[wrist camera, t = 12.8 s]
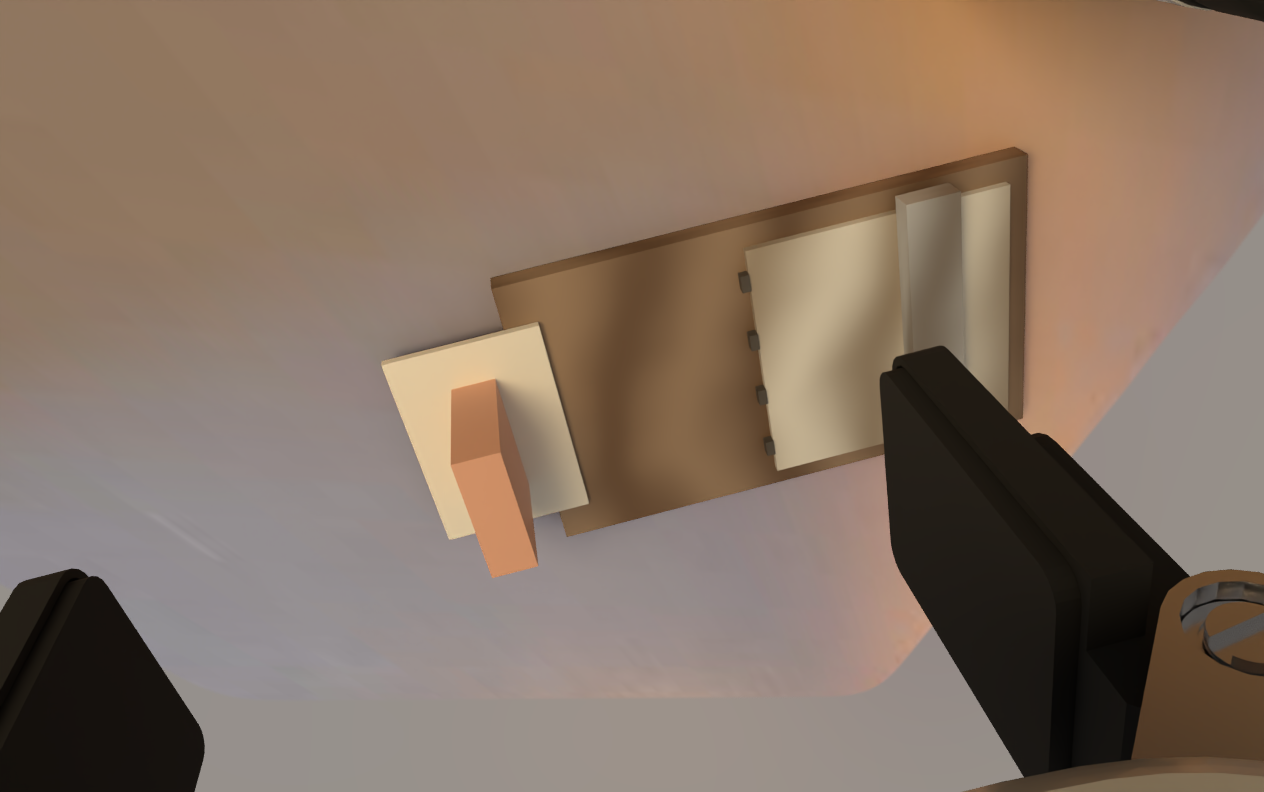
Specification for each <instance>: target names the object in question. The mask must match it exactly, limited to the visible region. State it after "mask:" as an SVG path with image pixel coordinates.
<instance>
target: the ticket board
mask: <svg viewBox="0 0 1264 792" xmlns="http://www.w3.org/2000/svg"><path fill="white" fill-rule="evenodd" d="M1027 178H1028V154H1026V153H1024V152H1023V151H1021V150H1019V149H1017V148H1015V147H1012V148H1008V149H1004V150H1000V151H996V152H992V153H988V154H984V155H980V156H976V157H972V158H968V159H964V160H960V161H956V162H952V163H948V164H944V165H940V166H936V167H932V168H928V169H924V170H920V171H916V172H912V173H908V174H904V175H900V176H896V177H892V178H888V179H884V180H880V181H876V182H872V183H868V184H864V185H860V186H856V187H852V188H848V189H844V190H840V191H836V192H832V193H828V194H824V195H820V196H816V197H812V198H808V199H804V200H800V201H796V202H792V203H788V204H784V205H780V206H776V207H772V208H768V209H764V210H760V211H757V212H753V213H749V214H745V215H741V216H737V217H733V218H729V219H725V220H721V221H717V222H713V223H709V224H705V225H701V226H697V227H693V228H689V229H685V230H681V231H677V232H673V233H669V234H665V235H661V236H657V237H653V238H649V239H645V240H641V241H637V242H633V243H629V244H625V245H621V246H617V247H613V248H609V249H605V250H601V251H597V252H593V253H589V254H585V255H581V256H577V257H573V258H569V259H565V260H561V261H557V262H553V263H549V264H545V265H541V266H537V267H533V268H529V269H525V270H521V271H517V272H513V273H509V274H505V275H501V276H497V277H493V278H491V290H492V293H493V296H494V300H495V303H496V306H497V309H498V313H499V316H500V319H501V322H502V326H503V329H504V330H507V329H511V328H515V327H519V326H523V325H527V324H531V323H535V322H538V323H539V327H540V330H541V334H542V337H543V341H544V344H545V348H546V351H547V355H548V359H549V362H550V366H551V369H552V373H553V376H554V380H555V383H556V387H557V390H558V394H559V397H560V401H561V405H562V408H563V412H564V415H565V419H566V422H567V426H568V429H569V433H570V436H571V440H572V443H573V447H574V451H575V454H576V458H577V461H578V465H579V468H580V472H581V475H582V479H583V482H584V486H585V490H586V493H587V497H588V501H589V504H586V505H582V506H578V507H575V508H571V509H567V510H563V511H559V512H560V516H561V519H562V522H563V525H564V529H565V532H566V535H567V537H569V536H572V535H576V534H580V533H584V532H588V531H592V530H595V529H599V528H603V527H607V526H611V525H615V524H618V523H622V522H626V521H630V520H634V519H638V518H641V517H645V516H649V515H653V514H657V513H661V512H664V511H668V510H672V509H676V508H680V507H684V506H688V505H691V504H695V503H699V502H703V501H707V500H711V499H714V498H718V497H722V496H726V495H730V494H734V493H737V492H741V491H745V490H749V489H753V488H757V487H760V486H764V485H768V484H772V483H776V482H780V481H783V480H787V479H791V478H795V477H799V476H803V475H807V474H810V473H814V472H818V471H822V470H826V469H830V468H833V467H837V466H841V465H845V464H849V463H853V462H856V461H860V460H864V459H868V458H872V457H876V456H879V455H883V454H884V440H883V426H882V413H881V399H880V375H881V374H882V373H883V372H887V371H891V370H892V364H893V360H894V359H895V357H897V356H900V355H904V354H908V353H912V352H916V351H920V350H924V349H928V348H932V347H935V346H945V347H946V348H947V349H949V351H950V352H951V353H952V354H953V355H954V356H955V357H956V358H957V359H958V360H959V361H960V362H961V363H962V364H963V365H964V366H965V367H966V368H967V369H968V370H969V371H970V372H971V373H972V374H973V375H974V376H975V378H976V379H977V380H978V381H979V382H980V383H981V384H982V385H983V386H984V387H985V388H986V389H987V390H988V391H989V392H990V393H991V394H992V395H993V396H994V397H995V398H996V399H997V400H998V401H999V402H1000V403H1001V404H1002V406H1003V407H1004V408H1005V409H1006V410H1007V411H1008V412H1009V413H1010V414H1011V415H1012V416H1013V417H1014V418H1015V419H1016V420H1018V419H1021V418H1023V377H1024V327H1025V278H1026V228H1027Z"/></svg>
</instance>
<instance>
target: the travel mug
mask: <svg viewBox="0 0 1264 792" xmlns="http://www.w3.org/2000/svg"><path fill="white" fill-rule="evenodd" d="M1158 1H1162V2H1168V3H1173V4H1176V5H1180V6H1184V7H1190V8H1195V9H1201V10H1215V11H1218V12H1222V13H1227V14H1231V15H1236V16H1241V17H1245V18H1250V19H1254V20H1259V21H1263V22H1264V0H1158Z"/></svg>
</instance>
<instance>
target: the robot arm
mask: <svg viewBox="0 0 1264 792" xmlns="http://www.w3.org/2000/svg"><path fill="white" fill-rule="evenodd" d="M880 399H881V413H882V426H883V440H884V454H885V468H886V481H887V495H888V509H889V522H890V536H891V546H892V551H893V555H894V558H895V561H896V564H897V566H898V569H899V571H900V573H901V575H902V576H903V578H904V579H905V581H906V583H907V584H908V586H909V588H910V589H911V591H912V593H913V594H914V596H915V598H916V599H917V601H918V603H919V604H920V606H921V608H922V609H923V611H924V613H925V614H926V616H927V618H928V619H929V621H930V622H931V624H932V626H933V627H934V629H935V631H936V632H937V634H938V636H939V637H940V639H941V641H942V642H943V644H944V646H945V647H946V649H947V650H948V652H949V654H950V655H951V657H952V659H953V660H954V662H955V664H956V665H957V667H958V669H959V670H960V672H961V674H962V675H963V677H964V679H965V680H966V682H967V684H968V685H969V687H970V688H971V690H972V692H973V694H974V695H975V697H976V699H977V700H978V702H979V703H980V705H981V707H982V708H983V710H984V712H985V713H986V715H987V717H988V718H989V720H990V722H991V723H992V725H993V727H994V728H995V730H996V732H997V733H998V735H999V737H1000V738H1001V740H1002V741H1003V743H1004V745H1005V747H1006V748H1007V750H1008V751H1009V753H1010V755H1011V756H1012V758H1013V760H1014V761H1015V763H1016V765H1017V766H1018V768H1019V770H1020V771H1021V773H1022V775H1023V776H1024V778H1019V779H1014V780H1010V781H1004V782H1000V783H996V784H992V785H988V786H984V787H980V788H976V789H972V790H968V791H964V792H1264V574H1263V573H1260V572H1251V571H1242V570H1232V569H1230V570H1218V571H1207V572H1203V573H1200V574H1197V575H1194V576H1191V577H1190V576H1189V575H1188V574H1187V573H1186V572H1185V571H1184V570H1183V569H1182V568H1181V567H1180V566H1179V565H1178V564H1177V563H1176V562H1175V561H1174V560H1173V559H1172V558H1171V557H1170V556H1169V555H1168V554H1167V553H1166V552H1165V551H1164V550H1163V549H1162V548H1161V547H1160V546H1159V545H1158V544H1157V543H1156V542H1155V541H1154V540H1153V539H1152V538H1151V537H1150V536H1149V535H1148V534H1147V533H1146V532H1145V531H1144V530H1143V529H1142V528H1141V527H1140V526H1139V525H1138V524H1137V523H1136V522H1135V521H1134V520H1133V519H1132V518H1131V517H1130V516H1129V515H1128V514H1127V513H1126V512H1125V511H1124V510H1123V509H1122V508H1121V507H1120V506H1119V505H1118V504H1117V503H1116V502H1115V501H1114V500H1113V499H1112V498H1111V497H1110V496H1109V495H1108V494H1107V493H1106V492H1105V491H1104V490H1103V489H1102V488H1101V487H1100V486H1099V484H1097V483H1096V481H1094V480H1093V478H1092V477H1090V475H1089V474H1088V473H1087V472H1086V471H1084V469H1083V468H1082V467H1081V466H1079V464H1077V462H1076V461H1075V460H1074V459H1073V458H1072V457H1071V456H1070V455H1069V454H1068V453H1067V452H1066V451H1065V450H1064V449H1063V448H1062V447H1061V446H1060V445H1059V444H1058V443H1057V442H1056V441H1054V440H1053V439H1052V438H1050V437H1049V436H1048V435H1046V434H1041V433H1036V434H1032V435H1030V434H1029V433H1028V431H1027V430H1026V429H1025V428H1024V427H1023V426H1022V425H1021V424H1020V423H1019V422H1018V421H1017V420H1016V419H1015V418H1014V417H1013V416H1012V415H1011V414H1010V413H1009V412H1008V411H1007V410H1006V409H1005V408H1004V407H1003V406H1002V404H1001V403H1000V402H999V401H998V400H997V399H996V398H995V397H994V396H993V395H992V394H991V393H990V392H989V391H988V390H987V389H986V388H985V387H984V386H983V385H982V384H981V383H980V382H979V381H978V380H977V379H976V378H975V376H974V375H973V374H972V373H971V372H970V371H969V370H968V369H967V368H966V367H965V366H964V365H963V364H962V363H961V362H960V361H959V360H958V359H957V358H956V357H955V356H954V355H953V354H952V353H951V352H950V351H949V349H947V348H946V347H945V346H935V347H932V348H928V349H924V350H920V351H916V352H912V353H908V354H904V355H900V356H897V357H895V359H894V360H893V364H892V370H891V371H887V372H883V373H882V374H881V375H880ZM204 747H205V745H204V738H203V734H202V731H201V728H200V726H199V724H198V723H197V721H196V720H195V718H194V717H193V715H192V714H191V712H190V711H189V709H188V708H187V706H186V705H185V703H184V702H183V700H182V699H181V697H180V696H179V694H178V693H177V691H176V689H175V688H174V686H173V685H172V683H171V682H170V680H169V679H168V677H167V676H166V674H165V673H164V671H163V670H162V668H161V667H160V665H159V664H158V662H157V661H156V659H155V657H154V656H153V654H152V653H151V651H150V650H149V648H148V647H147V645H146V644H145V642H144V641H143V639H142V638H141V636H140V635H139V633H138V632H137V630H136V629H135V627H134V626H133V624H132V623H131V621H130V620H129V618H128V616H127V615H126V613H125V612H124V610H123V609H122V607H121V606H120V604H119V603H118V601H117V600H116V598H115V597H114V595H113V594H112V592H111V591H110V589H109V588H108V586H107V585H106V584H105V582H104V581H103V580H102V579H100V578H99V577H96V576H91V577H88V576H87V575H86V574H85V573H84V572H82V571H81V570H79V569H68V570H64V571H60V572H57V573H53V574H49V575H45V576H41V577H37V578H33V579H29V580H26V581H23V582H21V583H19V584H18V585H17V587H16V588H15V589H14V590H13V592H12V594H11V595H10V597H9V599H8V600H7V602H6V604H5V606H4V607H3V609H2V610H1V612H0V792H194V791H195V788H196V784H197V780H198V777H199V773H200V770H201V766H202V762H203V758H204Z"/></svg>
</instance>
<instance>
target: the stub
mask: <svg viewBox="0 0 1264 792" xmlns="http://www.w3.org/2000/svg"><path fill="white" fill-rule="evenodd" d="M381 366H382V368H383V371H384V374H385V376H386V379H387V381H388V384H389V386H390V389H391V391H392V394H393V397H394V399H395V402H396V404H397V407H398V409H399V412H400V415H401V417H402V420H403V422H404V425H405V427H406V430H407V432H408V435H409V438H410V440H411V443H412V445H413V448H414V450H415V453H416V456H417V458H418V461H419V463H420V466H421V468H422V471H423V473H424V476H425V479H426V481H427V484H428V486H429V489H430V491H431V494H432V496H433V499H434V502H435V504H436V507H437V509H438V512H439V514H440V517H441V520H442V522H443V525H444V527H445V530H446V532H447V535H448V537H449V540H451V539H455V538H459V537H463V536H467V535H471V534H474V533H476V535H477V538H478V541H479V544H480V546H481V549H482V552H483V554H484V557H485V560H486V562H487V565H488V568H489V571H490V573H491V576H492V578H494V577H498V576H502V575H506V574H510V573H513V572H517V571H521V570H525V569H529V568H533V567H536V566H538V560H537V551H536V542H535V533H534V524H533V518H536V517H540V516H544V515H548V514H551V513H555V512H559V511H563V510H567V509H571V508H575V507H578V506H582V505H586V504H589V501H588V497H587V493H586V490H585V486H584V482H583V479H582V475H581V472H580V468H579V465H578V461H577V458H576V454H575V451H574V447H573V443H572V440H571V436H570V433H569V429H568V426H567V422H566V419H565V415H564V412H563V408H562V405H561V401H560V397H559V394H558V390H557V387H556V383H555V380H554V376H553V373H552V369H551V366H550V362H549V359H548V355H547V351H546V348H545V344H544V341H543V337H542V334H541V330H540V327H539V323H538V322H535V323H531V324H527V325H523V326H519V327H515V328H511V329H507V330H503V331H499V332H495V333H491V334H487V335H483V336H479V337H475V338H471V339H468V340H464V341H460V342H456V343H452V344H448V345H444V346H440V347H436V348H432V349H428V350H424V351H420V352H416V353H412V354H408V355H404V356H400V357H396V358H392V359H388V360H384V361H382V364H381Z"/></svg>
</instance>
